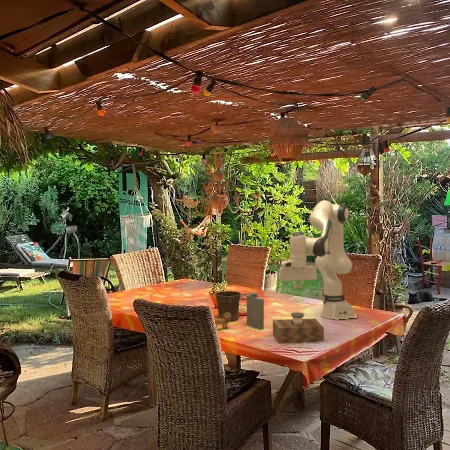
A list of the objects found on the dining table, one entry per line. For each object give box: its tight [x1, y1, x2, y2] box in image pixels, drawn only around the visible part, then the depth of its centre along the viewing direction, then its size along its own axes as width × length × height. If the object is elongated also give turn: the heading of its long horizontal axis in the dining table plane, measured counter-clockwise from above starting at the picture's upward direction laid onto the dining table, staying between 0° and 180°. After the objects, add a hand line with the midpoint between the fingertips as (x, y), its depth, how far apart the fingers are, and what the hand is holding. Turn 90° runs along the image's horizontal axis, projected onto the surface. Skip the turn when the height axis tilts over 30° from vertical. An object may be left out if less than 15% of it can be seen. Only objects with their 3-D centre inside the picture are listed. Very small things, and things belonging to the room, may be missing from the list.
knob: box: [290, 311, 305, 325], centre depth 250 cm, size 7×7×7 cm
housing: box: [272, 318, 325, 344], centre depth 251 cm, size 24×16×8 cm, turn 95°
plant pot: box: [214, 290, 242, 322], centre depth 288 cm, size 16×16×16 cm
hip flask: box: [246, 291, 265, 331], centre depth 272 cm, size 16×4×20 cm, turn 29°
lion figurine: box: [213, 313, 231, 330], centre depth 267 cm, size 15×5×9 cm, turn 123°
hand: (297, 288), depth 249 cm, fingers closed
